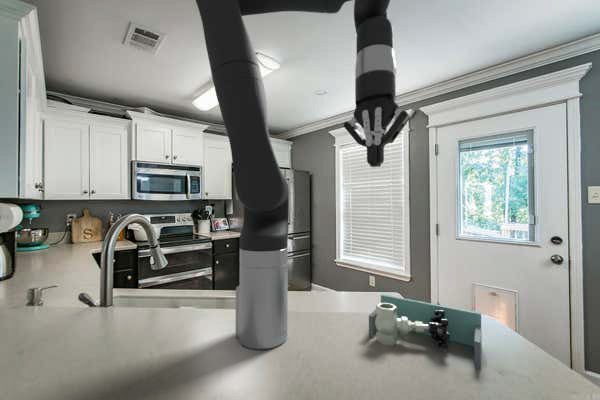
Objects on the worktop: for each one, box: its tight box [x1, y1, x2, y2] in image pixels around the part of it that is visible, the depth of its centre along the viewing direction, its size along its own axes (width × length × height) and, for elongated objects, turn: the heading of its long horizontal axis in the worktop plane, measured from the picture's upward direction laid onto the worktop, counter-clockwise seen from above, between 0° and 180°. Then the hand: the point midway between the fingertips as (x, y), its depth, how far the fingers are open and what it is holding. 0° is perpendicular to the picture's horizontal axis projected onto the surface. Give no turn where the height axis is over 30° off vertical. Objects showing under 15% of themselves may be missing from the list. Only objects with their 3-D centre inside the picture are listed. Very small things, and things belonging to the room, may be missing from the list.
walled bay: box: [368, 293, 483, 369], centre depth 50 cm, size 18×8×6 cm, turn 55°
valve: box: [375, 302, 450, 350], centre depth 50 cm, size 7×7×12 cm
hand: (375, 166), depth 52 cm, fingers closed
